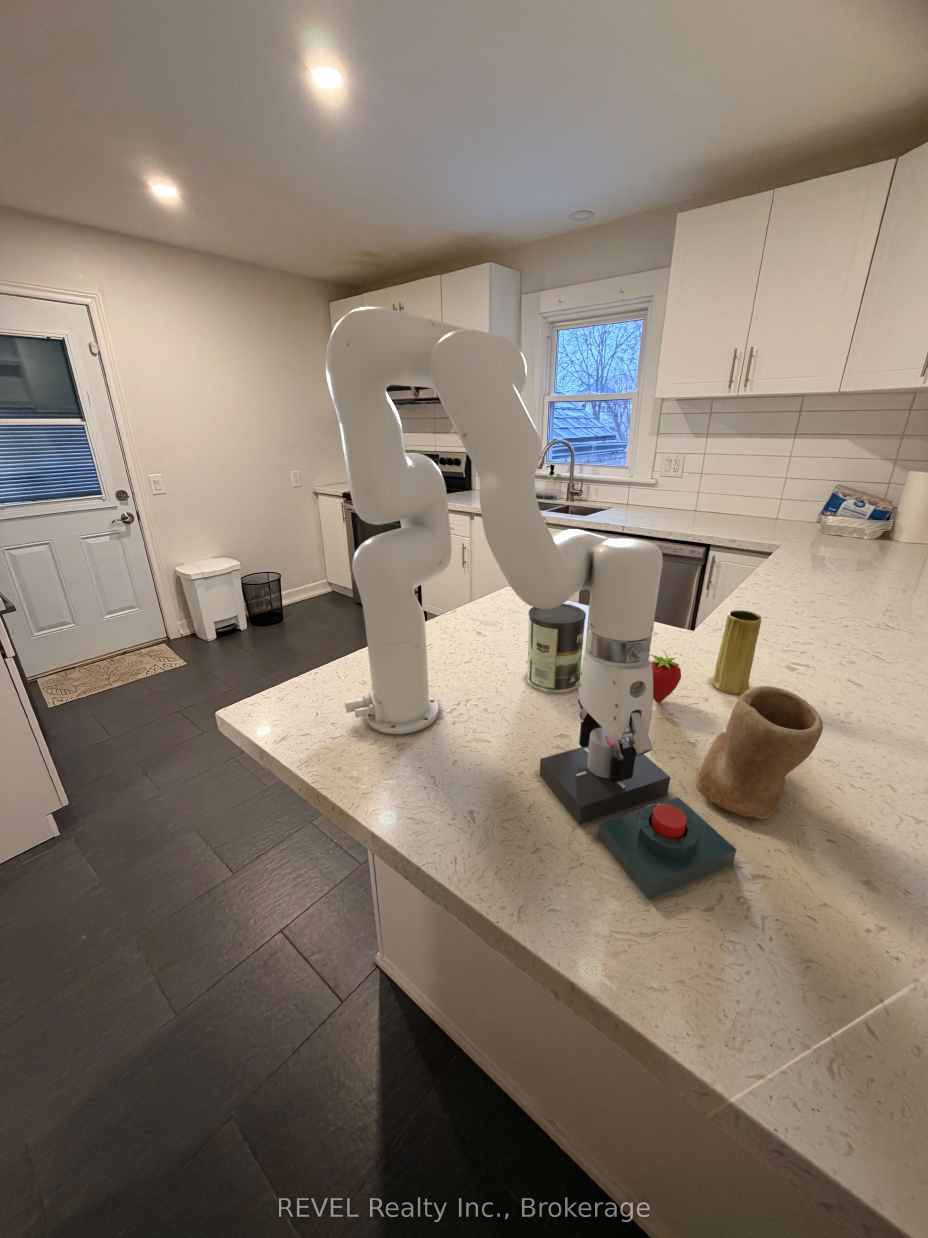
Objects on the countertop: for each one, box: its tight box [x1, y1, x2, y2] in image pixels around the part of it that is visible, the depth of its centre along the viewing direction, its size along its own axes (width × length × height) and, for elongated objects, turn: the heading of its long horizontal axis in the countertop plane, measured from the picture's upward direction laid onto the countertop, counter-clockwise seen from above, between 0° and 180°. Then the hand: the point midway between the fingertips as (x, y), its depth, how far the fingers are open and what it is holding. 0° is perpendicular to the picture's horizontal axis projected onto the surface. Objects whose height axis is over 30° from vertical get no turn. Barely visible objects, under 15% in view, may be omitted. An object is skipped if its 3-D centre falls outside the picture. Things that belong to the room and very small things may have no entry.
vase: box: [711, 609, 763, 695], centre depth 90 cm, size 6×6×14 cm
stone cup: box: [695, 685, 824, 820], centre depth 65 cm, size 15×12×15 cm
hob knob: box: [587, 727, 624, 778], centre depth 66 cm, size 4×4×5 cm
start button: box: [651, 804, 687, 839], centre depth 56 cm, size 4×4×2 cm
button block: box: [597, 796, 737, 900], centre depth 57 cm, size 12×9×4 cm
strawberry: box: [650, 650, 682, 703], centre depth 86 cm, size 6×8×10 cm
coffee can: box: [526, 603, 587, 694], centre depth 93 cm, size 10×10×14 cm
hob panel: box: [539, 738, 671, 826], centre depth 68 cm, size 14×10×3 cm
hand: (604, 760), depth 67 cm, fingers open, 6 cm apart
